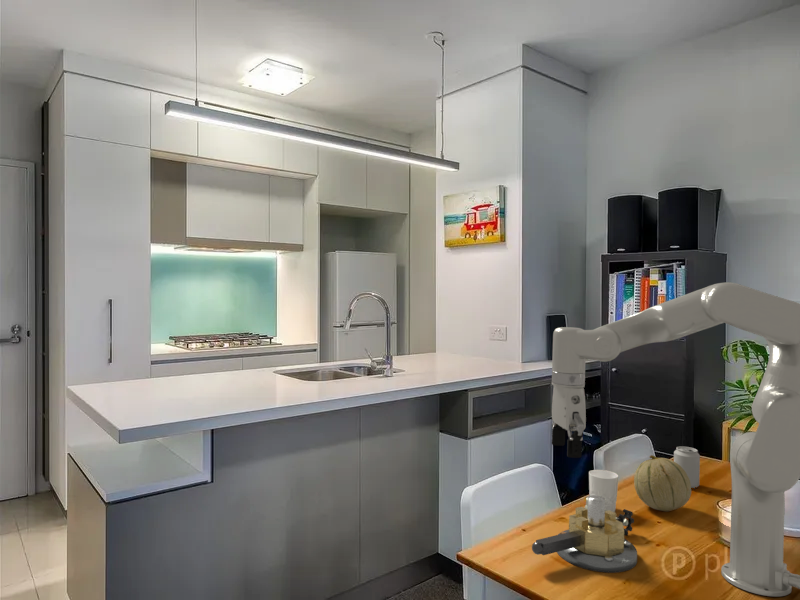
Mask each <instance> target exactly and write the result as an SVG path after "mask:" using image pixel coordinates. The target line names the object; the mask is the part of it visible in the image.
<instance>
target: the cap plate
mask: <svg viewBox="0 0 800 600" xmlns="http://www.w3.org/2000/svg"><path fill="white" fill-rule="evenodd" d="M587 497H588V518H587V519H588V525H589V526H591V527H598V528H602V527H605V498H603V497H601V496H597V495H590V494H589V495H587ZM568 532H569V529H565V530H562V531H560V532H559V533H558V534H557V535H559V534H564V533H568ZM556 553H557V554H558V556H560V558H561V559H563V560H564V561H566V562H568V563H569V564H571V565H573V566H576V567H579V568H581V569H584V570H588V571H593V572H600V573H608V574H609V573H611V574H614V573H623V572H626V571H630V570H632V569H634V568H635V567H636V565H637V563H638V551H637V548H636V546H635V545H634V544H633V543H631V542H630V541H629V540H627V539H626V538H624V552H623V553H620V554H616V555H612V556H600V555H594V554H587V553H584V552H582V551H580V550H578V549H577V548H575V547H574V548H570V549H566V550H562V551H559V552H556Z"/></svg>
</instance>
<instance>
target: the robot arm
mask: <svg viewBox="0 0 800 600" xmlns="http://www.w3.org/2000/svg"><path fill="white" fill-rule="evenodd" d="M724 323H725V324H726V325H728V326H731V327H733V328H737V329H740V330H743V331H745V332H748V333H751V334H754V335H757V336H760V337H763V338H764V339H765V341H766V343H767V344H768V345H767V346H768V349H769V357H768V362H767V365H766V368H765V372H764V374H763V377H762V380H761V382H760V385H759V386H758V389H757V392H756V395H755V397H754V399H753V402H752V404H751V413H752V416H753V418H754V419H755V421H756V422H757V423H758V426H757V429H756V430H755V431H748V432H745V433H743V434H741V435H738V437H736V439H734V441H733V443H732V444H731V447H730V454H729V458H730V459H729V461H730V475H731V503H730V507H731V508H730V538H729V539H730V540H729V541H730V545H729V547H730V548H729V562H727V563H724V564H723V565H722V566H721V576H722V577H723V578H724V579H725V580H726V581H727V582H728V583H729V584H731V585H733V586H734V587H737V588H739V589H741V590H743V591H746V592H749V593H752V594H754V595H755V594H756V595H759V596H765V597H766V596H767V597H774V598H775V597H785V596H788V595H789V594H791V593H792V588H793V587H794V588H796V589H798V590H800V574H796V573H792V572H790V570H788V569H787V567H788V564H787V563H785V562H784V541H785V539H784V538H785V537H784V536H785V530H784V529H785V511H786V499H785V497H786V496H785V492H787V491H789V490H790V489H792V488H793V487H794V486H796V484H797V483H798V482H799V480H800V303H799V302H797V301H793V300H790V299H786V298H784V297H781V296H777V295H773V294H770V293H767V292H763V291H760V290H757V289H755V288H752V287H749V286H745V285H743V284H739V283H736V282H731V281H730V282H718V283H714V284H710V285H708V286H706V287H703V288H700V289H697V290H694V291H692V292H689V293H686V294H684V295H682V296H678V297H676V298H673V299H670V300H667V301H664V302H661V303H659V304H656V305H652V306H651V307H648V308H646V309H644V310H642V311H640V312H637V313H635V314H632V315H629V316H625V317H624V318H621V319H618V320H616V321H612V322H610V323H607V324H604V325H602V326H599V327H596V328H594V329H583V328H581V327H572V326H571V327H570V326H568V327H567V326H564V327H563V326H561V327H559V326H558V327H557V328H555V329H554V331H553V333H552V357H551V358H552V363H551V364H552V366H551V370H552V371H551V385H552V386H553V391H552V402H551V403H552V404H551V421H552V423H551V428H552V429H551V445H552V447H553V446H555V447H556V446H559V447H563V446H564V447H565V445H566V444H567V446H566V450H567V451H566V457H568V458H571V459H572V458H573V459H574V458H575V459H576V458H582V452H583V451H582V449H583V447H582V446H583V444H582V443H583V440H584V439H583V437H584V434H585V433H584V430H585V429H586V424H587V423H586V422H587V417H586V416H587V415H586V413H587V411H586V407H587V406H586V396H585V389H584V388H585V385H586V382H585V381H586V360H592V361H597V362H605V363H606V362H610V361H613V360H614V359H617V357H618V356H619V355H620V353H623V352H625V351H628V350H631V349H635V348H637V347H640V346H645V345H648V344H653V343H665V342H666V343H667V342H670V341H675V340H677V339H680V338H683V337H686V336H689V335H693V334H695V333H697V332H700V331H701V332H702V331H704V330H708V329H710V328H713V327H716V326H718V325H721V324H724ZM566 431H567V436H568V439H567V440H566ZM566 442H567V443H566Z"/></svg>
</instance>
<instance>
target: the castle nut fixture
mask: <svg viewBox="0 0 800 600" xmlns="http://www.w3.org/2000/svg"><path fill="white" fill-rule="evenodd" d="M616 517H617V512H616V511H615V512H612V511H610V510H609V511H605V527H602V528H598V527H591V526H589V525H588V519H587V518H588V509H586V508H585V506H578V507H575V514H570V515H569V516H568V518H569V519H568V530H569V532H568V533H564V534H559V533H558V534H559V535H558V534H556V535H552V536H547V537H544V538H543V537H542V538H539V539H536V540H535V542H533V543H532V545H531V550H532V553H533V554H535V555H542V556H547V555H551V554H554V553H557V552H559V551H562V550H566V549H570V548H574V547H575V548H577V549H578V550H580V551H582V552H584V553H587V554H594V555H600V556H612V555H616V554H620V553H623V552H624V539H625V536H624V529H625V528H624V527H625V526H623V523H622V522H620V521H618V520H616Z"/></svg>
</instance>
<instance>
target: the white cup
mask: <svg viewBox="0 0 800 600" xmlns="http://www.w3.org/2000/svg"><path fill="white" fill-rule="evenodd" d="M618 487H619V474H618V473H616V472H614V471H610V470H606V469H593V470H589V471H588V490H589V492H588V493H589V496H590V495H597V496H601V497H603V498H605V509H606V510H607V511H609V510H610V511H612V512H615V513H616V506H617V497H618V489H619V488H618Z"/></svg>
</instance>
